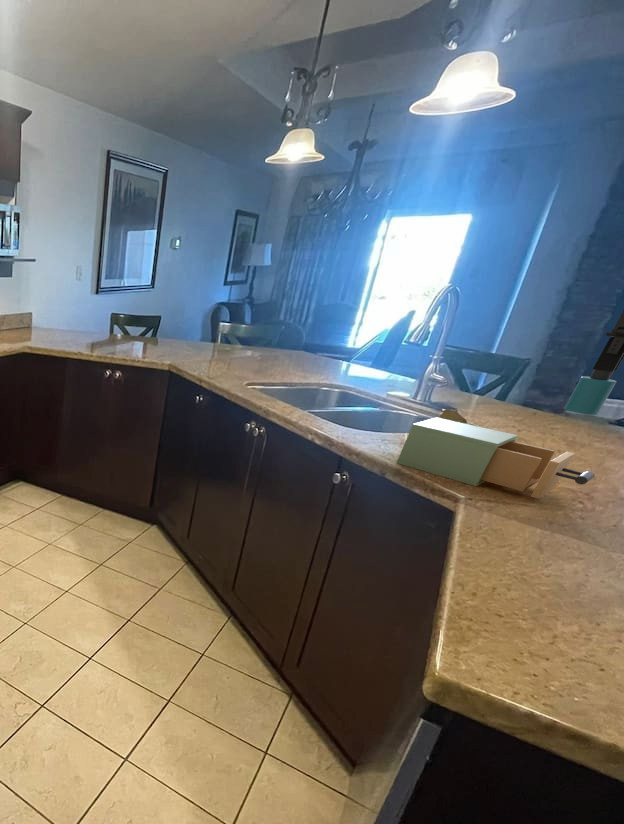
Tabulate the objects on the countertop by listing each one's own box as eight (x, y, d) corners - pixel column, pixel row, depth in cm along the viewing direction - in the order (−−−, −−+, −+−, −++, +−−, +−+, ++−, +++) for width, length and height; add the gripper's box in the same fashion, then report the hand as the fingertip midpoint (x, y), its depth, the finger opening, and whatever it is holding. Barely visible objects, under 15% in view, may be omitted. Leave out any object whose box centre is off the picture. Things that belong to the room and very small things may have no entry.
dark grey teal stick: (599, 413, 103) (639, 345, 97) (594, 415, 100) (635, 346, 95) (566, 407, 107) (603, 341, 101) (561, 409, 104) (598, 342, 98)
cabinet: (496, 475, 112) (518, 435, 108) (476, 486, 106) (497, 443, 102) (419, 454, 124) (435, 417, 120) (396, 463, 117) (412, 423, 113)
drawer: (584, 495, 101) (606, 460, 98) (569, 507, 95) (591, 470, 92) (473, 465, 115) (489, 433, 112) (453, 474, 109) (469, 441, 106)
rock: (484, 443, 127) (440, 427, 134) (494, 421, 121) (447, 406, 129) (456, 470, 127) (413, 452, 134) (464, 449, 121) (419, 432, 128)
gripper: (651, 245, 97) (585, 364, 107) (638, 239, 89) (568, 368, 99) (714, 245, 91) (639, 370, 101) (706, 239, 83) (625, 376, 93)
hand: (604, 369), depth 100 cm, fingers closed on dark grey teal stick, 3 cm apart
